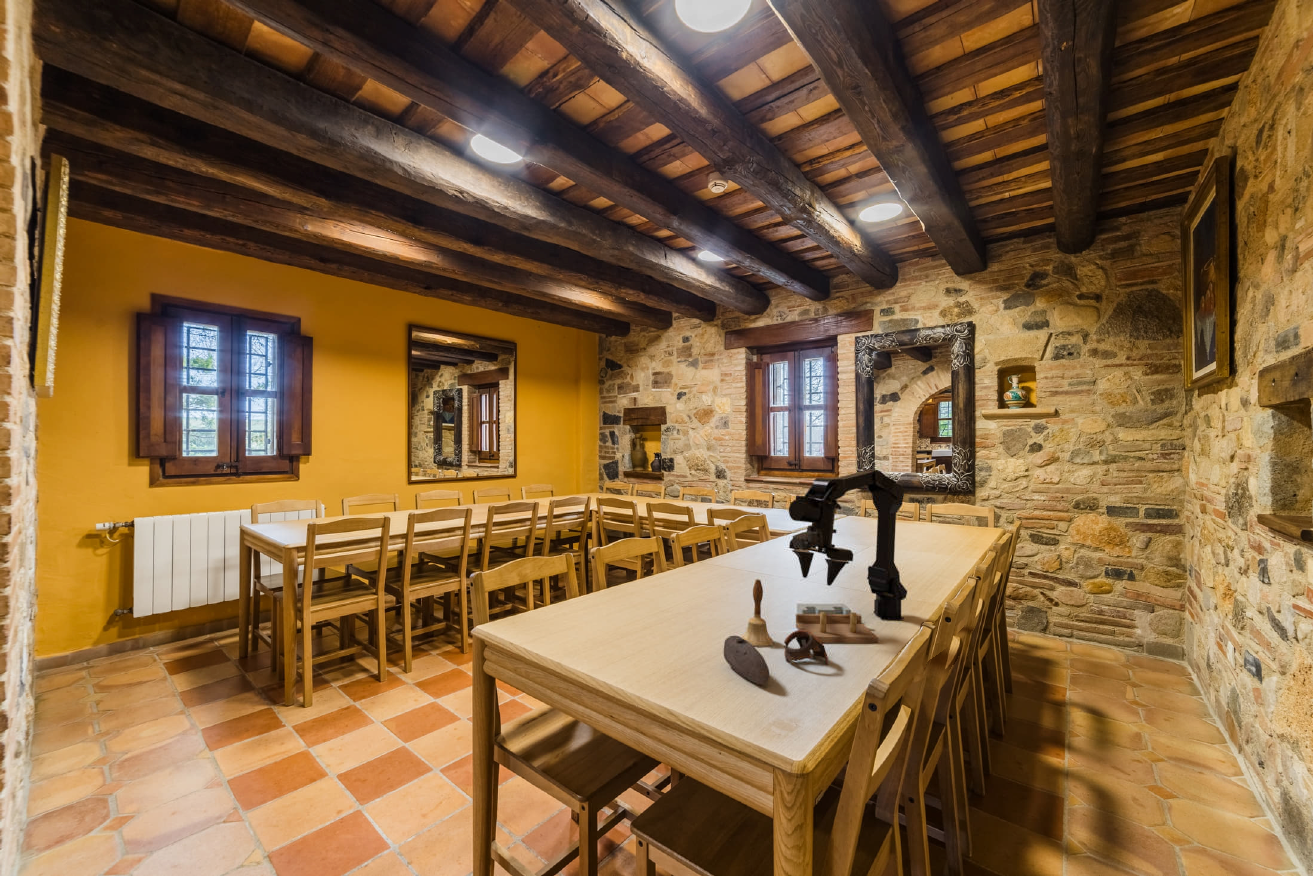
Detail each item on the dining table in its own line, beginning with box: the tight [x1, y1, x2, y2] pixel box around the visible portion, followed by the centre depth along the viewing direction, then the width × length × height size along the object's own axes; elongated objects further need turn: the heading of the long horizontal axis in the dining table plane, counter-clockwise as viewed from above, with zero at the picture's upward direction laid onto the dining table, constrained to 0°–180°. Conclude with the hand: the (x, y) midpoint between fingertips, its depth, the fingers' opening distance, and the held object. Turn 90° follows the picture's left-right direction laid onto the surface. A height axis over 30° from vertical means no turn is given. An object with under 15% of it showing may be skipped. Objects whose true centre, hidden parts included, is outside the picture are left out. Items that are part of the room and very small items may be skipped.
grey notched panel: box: [796, 602, 852, 614], centre depth 157 cm, size 14×6×4 cm, turn 90°
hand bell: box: [740, 579, 774, 648], centre depth 139 cm, size 8×8×16 cm
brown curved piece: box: [783, 628, 829, 666], centre depth 127 cm, size 12×10×8 cm
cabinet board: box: [795, 611, 879, 644], centre depth 144 cm, size 18×12×6 cm, turn 90°
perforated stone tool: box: [723, 635, 771, 686], centre depth 118 cm, size 15×5×7 cm, turn 21°
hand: (816, 581), depth 145 cm, fingers open, 9 cm apart
